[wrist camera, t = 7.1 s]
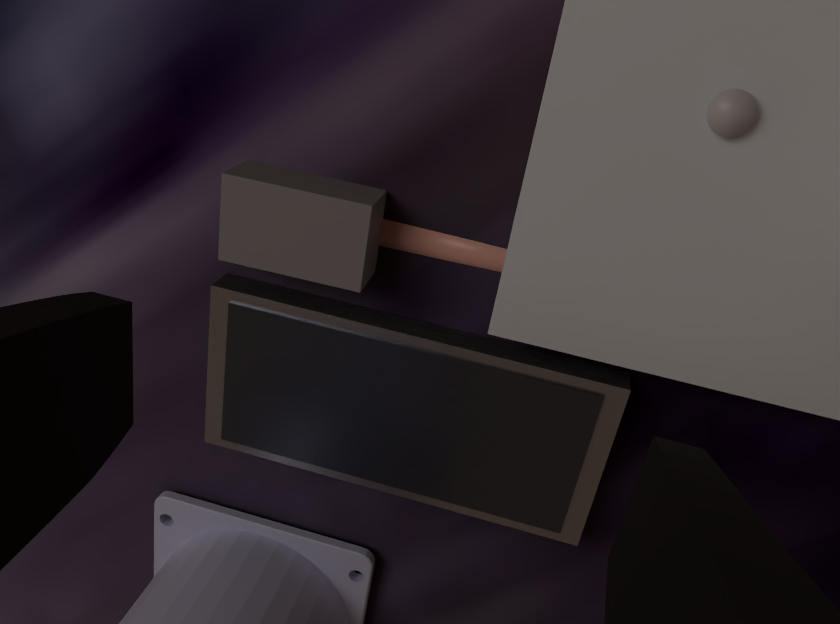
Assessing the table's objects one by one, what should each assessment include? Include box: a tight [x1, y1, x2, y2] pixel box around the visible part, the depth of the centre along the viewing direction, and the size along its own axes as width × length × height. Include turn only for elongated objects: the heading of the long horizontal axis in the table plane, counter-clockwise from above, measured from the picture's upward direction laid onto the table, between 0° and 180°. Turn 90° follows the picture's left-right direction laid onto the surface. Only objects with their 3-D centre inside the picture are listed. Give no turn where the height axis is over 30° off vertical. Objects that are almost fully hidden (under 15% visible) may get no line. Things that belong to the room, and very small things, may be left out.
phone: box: [205, 274, 631, 546], centre depth 21 cm, size 6×12×1 cm, turn 80°
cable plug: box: [218, 160, 507, 293], centre depth 19 cm, size 10×2×2 cm, turn 80°
